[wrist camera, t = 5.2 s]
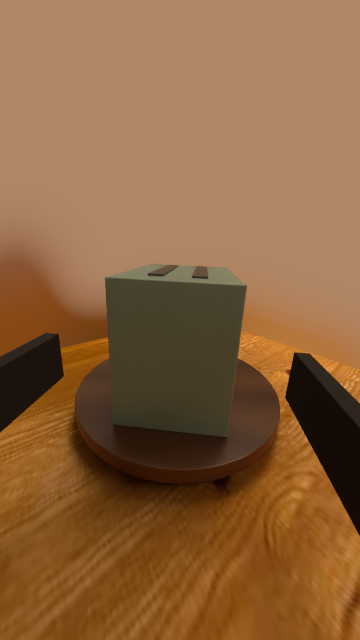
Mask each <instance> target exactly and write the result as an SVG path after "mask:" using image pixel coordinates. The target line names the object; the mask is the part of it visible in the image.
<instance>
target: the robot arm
mask: <svg viewBox="0 0 360 640" xmlns="http://www.w3.org/2000/svg"><path fill="white" fill-rule="evenodd" d="M63 376H64V374H63V366H62V358H61V350H60V342H59V334H51V333H45V334H44V335H41V336H40V337H38V338H36V339H34V340H32V341H30V342H28V343H26V344H24V345H22V346H20V347H18V348H16V349H14V350H12V351H11V352H9V353H7V354H5V355H3V356H1V357H0V432H1V431H2V430H3V429H5V428H6V427H7V426H8V425H9V424H10V423H11V422H12V421H14V420H15V419H16V418H17V417H18V416H19V415H20V414H22V413H23V412H24V411H25V410H26V409H27V408H28V407H29V406H31V405H32V404H33V403H34V402H35V401H36V400H37V399H39V398H40V397H41V396H42V395H43V394H44V393H45V392H46V391H48V390H49V389H50V388H51V387H52V386H53V385H54V384H55V383H57V382H58V381H59V380H60V379H61V378H62V377H63ZM285 398H286V400H287V402H288V403H289V405H290V407H291V409H292V411H293V413H294V415H295V416H296V418H297V420H298V422H299V424H300V426H301V428H302V429H303V431H304V433H305V435H306V437H307V439H308V441H309V442H310V444H311V446H312V448H313V450H314V452H315V454H316V455H317V457H318V459H319V461H320V463H321V465H322V466H323V468H324V470H325V472H326V474H327V476H328V478H329V479H330V481H331V483H332V485H333V487H334V489H335V491H336V492H337V494H338V496H339V498H340V500H341V502H342V504H343V505H344V507H345V509H346V511H347V513H348V515H349V517H350V518H351V520H352V522H353V524H354V526H355V528H356V530H357V531H358V533H359V535H360V403H359V402H358V401H357V400H356V399H355V398H354V397H353V396H352V395H351V394H350V393H349V392H348V391H347V390H346V389H345V388H344V387H343V386H342V385H341V384H340V383H339V382H338V381H337V380H336V379H335V378H333V377H332V376H331V375H330V374H329V373H328V372H327V371H326V370H325V369H324V368H323V367H322V366H321V365H320V364H319V363H318V362H317V361H316V360H315V359H314V358H313V357H312V356H311V355H310V354H307V353H294V357H293V362H292V367H291V372H290V377H289V382H288V386H287V391H286V396H285Z"/></svg>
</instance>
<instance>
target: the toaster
mask: <svg viewBox="0 0 360 640" xmlns="http://www.w3.org/2000/svg"><path fill="white" fill-rule="evenodd" d="M105 285H106V304H107V322H108V340H109V359H107V360H106V361H104V362H102V363H101V364H99V365H98V366H97V367H95V368H94V369H93V370H92V371H91V372H90V373H89V374H88V375H87V376H86V377H85V378H84V380H83V381H82V383H81V384H80V386H79V388H78V391H77V394H76V399H75V411H76V419H77V426H78V429H79V431H80V434H81V436H82V438H83V439H84V441H85V442H86V444H87V446H88V447H89V448H90V449H91V450H92V451H93V452H94V453H95V454H96V455H97V456H98V457H99V458H101V459H102V460H104V461H105V462H106V463H108V464H109V465H111V466H113V467H115V468H116V469H118V470H120V471H122V472H124V473H127V474H130V475H133V476H136V477H139V478H141V479H146V480H151V481H156V482H161V483H175V484H188V483H202V482H207V481H212V480H217V479H221V478H224V477H226V476H229V475H232V474H235V473H237V472H239V471H241V470H243V469H245V468H246V467H248V466H250V465H251V464H253V463H254V462H255V461H256V460H258V459H259V458H260V457H261V456H262V455H263V454H264V453H265V452H266V451H267V449H268V448H269V447H270V445H271V443H272V442H273V440H274V438H275V435H276V432H277V428H278V423H279V419H280V405H279V400H278V397H277V394H276V392H275V390H274V389H273V387H272V385H271V384H270V383H269V381H268V380H267V379H266V378H265V377H264V376H263V375H262V374H261V373H260V372H259V371H257V370H256V369H255V368H253V367H252V366H250V365H249V364H247V363H245V362H244V361H242V360H240V359H238V351H239V343H240V335H241V328H242V320H243V312H244V305H245V297H246V289H247V285H246V284H244V283H243V282H242V281H241V280H240V279H239V278H237V277H236V276H235V275H234V274H233V273H232V272H230V271H229V270H228V269H227V268H220V267H202V266H201V267H200V266H181V265H180V266H179V265H161V264H151V265H147V266H144V267H140V268H137V269H133V270H130V271H126V272H122V273H119V274H115V275H111V276H108V277H105Z"/></svg>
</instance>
